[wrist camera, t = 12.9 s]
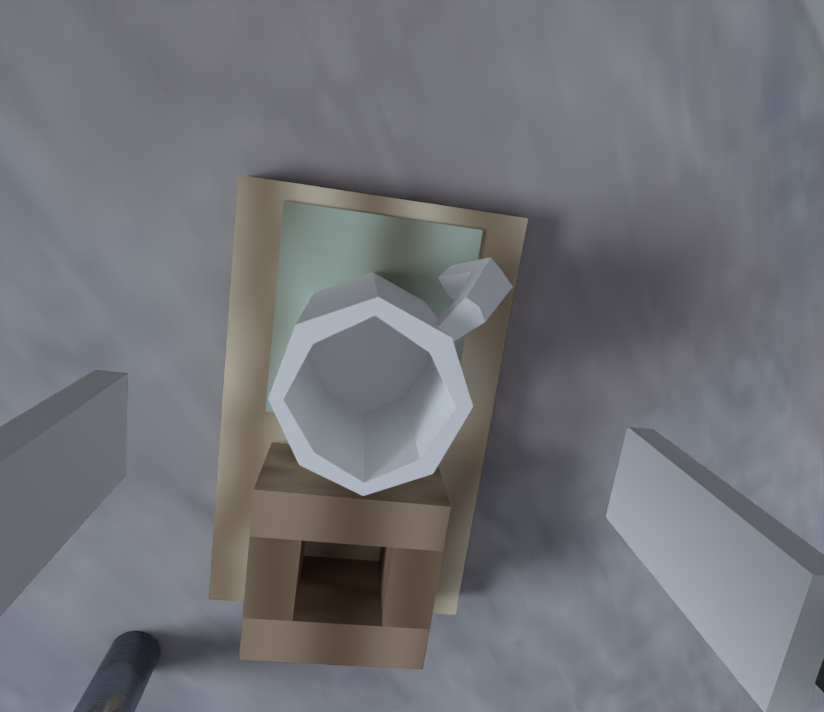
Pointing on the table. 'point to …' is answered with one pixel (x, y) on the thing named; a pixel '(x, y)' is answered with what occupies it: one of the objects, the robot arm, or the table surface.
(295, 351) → the mug
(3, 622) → the table surface
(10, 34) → the table surface
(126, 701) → the cylindrical pin
